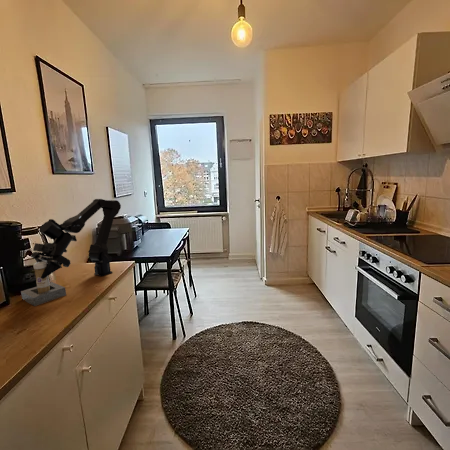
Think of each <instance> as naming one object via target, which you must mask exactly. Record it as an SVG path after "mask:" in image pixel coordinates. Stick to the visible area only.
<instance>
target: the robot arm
mask: <svg viewBox="0 0 450 450" xmlns="http://www.w3.org/2000/svg"><path fill="white" fill-rule="evenodd" d="M121 207H122V205H121V203H120V201H119V200H117V199H115V200H114V199H109V200H108V199H102V198H94V199H93V200H92V202H91V203H89V204H88V205H87V206H86V207H85V208H84V209H82V210H81V211H80V212H79V213H78V214H76V215H74V216H72V217H71V216H70V217H69V218H67V219H65V220H64V221H63V222H62V223H60V224H59V223H58V222H57V221H56V220H54V219H53V218H50V219H48V221H45V222H43V224H42V225H40V227H39V232H40V233H41V234H43V235H44V236H46V237H48V238H49V239H51V240H54V241H53V242H45V243H36V242H35V243H34V247H33V249H32V251H33V252H32V254H30V258H33V259H34V261H36V262H35V263H37V262H46V263H47V267H46V268H45V270H44V272H43V274H42V276H41V278H42V279H44V278H45V277H47V276H48V277H49V276H50V275H51V274H53V273H55V272H56V271H59V270H60V269H62V268H63V267H65V268H69V267H70V266H71V260H70V259H69V258H67V257H66V256H64V253H67V252H68V249H67V248H68V247H69V245H70V243H71V242H77V241H78V239H77V237H76V235H75V234H78V233H80V232H81V231H82V230H83V229H84V227H85V225H86V222H87V221H88V220H90V218H92V217H93V216H94V215H95V214H96V213H98V211H99V210H100V209H102V212H103V218H102V221H101V224H100V227H99V231H98V234H97V238H96V241H95V243H94V244H90V246H89V250H88V251H87V252H88V257H89V259H90V260H91V262H92V263H93V264H94V275H95V276H98V277H104V276H107V275H110V274H112V273H113V271H111V264H110V263H111V262H112V261H113V257H112V256H111V255H109V254H108V252H109V249H108V246H107V245H108V240H109V236H110V233H111V229H112V225H113V223H114V219H115V217H117V215H118V214H119V213H120V211H121ZM33 274H34V275H33V278H36V275H35V273H33Z"/></svg>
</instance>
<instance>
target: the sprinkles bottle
mask: <svg viewBox="0 0 450 450" xmlns="http://www.w3.org/2000/svg"><path fill="white" fill-rule="evenodd" d="M32 266H33V269H34V274H35V275H36V277H35V280H36V281H35V283H36V287H37V288H38V294H40V293H43V292H46V291H49V290H50V286H49V283H50V279H49V275H48V276H47V277H45V278H44V279H42V278H41V276H42V274H43V272H44V270H45V268H46V267H47V263H46V262H35V263H33V265H32Z"/></svg>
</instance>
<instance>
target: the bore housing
mask: <svg viewBox="0 0 450 450" xmlns="http://www.w3.org/2000/svg"><path fill="white" fill-rule="evenodd" d="M49 286H50V290H49V291H46V292H43V293H40V294H38V288H37V286H34V287H31V288H27V289H24V290H21V291H20V294H21V300H22V299H23V301H24V300H25V301H24V302H26V303H27V304H30V305H32V306H34V307H37V306H40V305H42V304H45V303H48V302H52V301H53V300H56V299H59V298H63V297H65V296H67V289H66V287H65V286H63V285H60V284H57V283H55V282H53V281H51V282H50V281H49Z"/></svg>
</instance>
